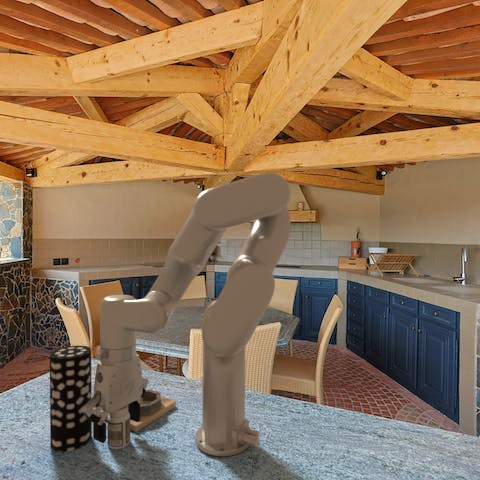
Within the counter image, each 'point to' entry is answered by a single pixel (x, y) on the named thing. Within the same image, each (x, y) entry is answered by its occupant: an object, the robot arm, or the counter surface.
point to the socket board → (149, 418)
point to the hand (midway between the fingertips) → (117, 429)
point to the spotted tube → (69, 397)
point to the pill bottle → (119, 428)
